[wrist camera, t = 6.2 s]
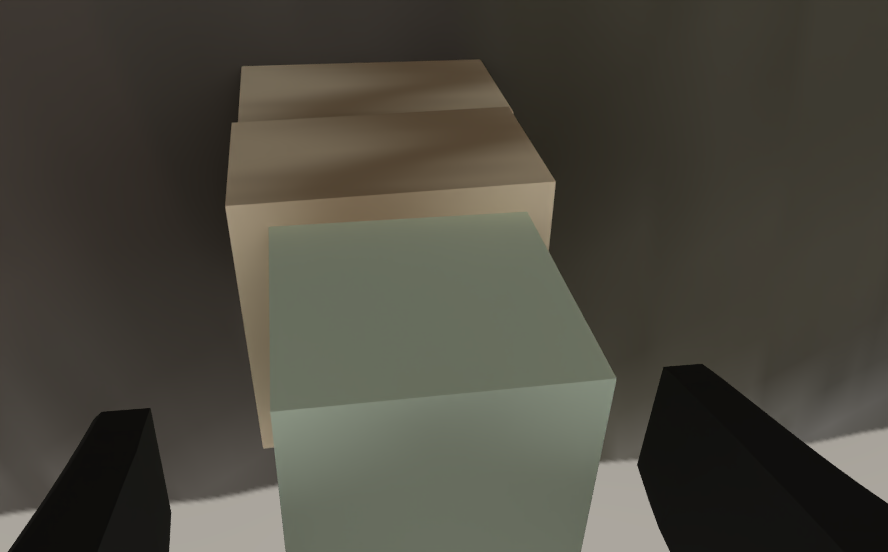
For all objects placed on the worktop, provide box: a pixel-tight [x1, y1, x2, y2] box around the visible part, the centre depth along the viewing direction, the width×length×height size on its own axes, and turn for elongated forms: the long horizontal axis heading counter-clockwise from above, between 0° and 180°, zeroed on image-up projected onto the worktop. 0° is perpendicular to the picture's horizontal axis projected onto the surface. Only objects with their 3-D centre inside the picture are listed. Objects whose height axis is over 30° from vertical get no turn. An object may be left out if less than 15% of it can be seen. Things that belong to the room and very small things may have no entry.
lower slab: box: [238, 59, 513, 122], centre depth 17 cm, size 5×5×3 cm
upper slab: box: [225, 107, 556, 449], centre depth 15 cm, size 5×5×3 cm
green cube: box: [269, 212, 617, 552], centre depth 12 cm, size 4×4×4 cm
